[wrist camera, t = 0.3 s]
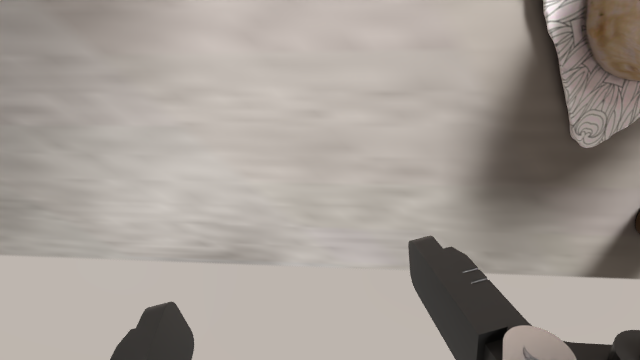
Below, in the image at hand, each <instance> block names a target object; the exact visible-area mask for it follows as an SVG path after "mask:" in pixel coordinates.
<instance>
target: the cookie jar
mask: <svg viewBox="0 0 640 360" xmlns="http://www.w3.org/2000/svg"><path fill="white" fill-rule="evenodd" d="M543 10H544V16H545V19H546V23H547V29H548V33H549V35H550V37H551V38H552V40H553V42H554V45H555V48H556V51H557V55H558V59H559V67H560V75H561V80H562V84H563V89H564V93H565V99H566V104H567V108H568V115H569V122H570V134H571V137H572V138H573V139H575V140H576V141H577V142H578V143H579V145H580V146H581V147H583V148H591V147H594V146H597V145H598V144H600V143H602V142H603V141H604V140H608V139H609V138H610V137H611V136H612V135H613V134H614V133H616V132H618V131H620V130H622V129H624V128H626V127H628V126H630V125H631V124H632V123H633V122H635V121H636V120H637V119H638V118H640V0H543Z"/></svg>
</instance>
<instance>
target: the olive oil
mask: <svg viewBox="0 0 640 360" xmlns="http://www.w3.org/2000/svg"><path fill="white" fill-rule="evenodd" d="M635 226H636V230H637V232H638V233H639V234H640V212H639V213H638V215H637V218H636V222H635Z"/></svg>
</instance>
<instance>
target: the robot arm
mask: <svg viewBox="0 0 640 360" xmlns="http://www.w3.org/2000/svg"><path fill="white" fill-rule="evenodd" d="M409 261H410V274H411V279H412V283H413V286H414V288H415V290H416V292H417V294H418V296H419V297H420V299H421V301H422V303H423V304H424V306H425V308H426V309H427V311H428V313H429V315H430V316H431V318H432V320H433V321H434V323H435V325H436V327H437V328H438V330H439V332H440V334H441V335H442V337H443V339H444V340H445V342H446V344H447V346H448V347H449V349H450V351H451V352H452V354H453V356H454V358H455V359H456V360H640V330H628V331H624V332H621V333H620V334H618V335H617V336H616V338H615V340H614V342H613V345H604V344H585V343H571V342H565V341H562V340H561V339H559V338H558V337H557V336H555V335H554V334H552V333H550V332H548V331H546V330H544V329H541V328H538V327H534V326H532V325H530V324H529V323H528V322H527V321H526V320H525V319H524V318H523V317H522V315H520V313H519V312H518V311H517V310H516V309H515V308H514V307H513V306H512V305H511V303H510V302H509V301H508V300H507V299H506V298H505V297H504V296H503V295H502V294H501V292H500V291H499V290H498V289H497V288H496V287H495V286H494V285H493V284H492V283H491V282H490V280H487V277H486V276H485V275H484V274H483V273H482V272H481V271H480V270H478V267H477V266H476V265H475V264H474V263H473V262H472V261H471V260H470V258H469V257H468V256H467V255H465V254H463V253H462V252H460V251H458V250H456V249H455V248H453V247H448V248H445V249H443V248H442V247H441V246H440V244H439V243H438V242H437V241H436V240H435V238H434V237H432V236H427V237H423V238H419V239H415V240H412V241H409ZM193 349H194V338H193V334H192V331H191V329H190V327H189V326H188V324H187V322H186V321H185V319H184V317H183V316H182V314H181V313H180V310H179V309H178V307H177V305H176V304H175V303H174V302H168V303H164V304H160V305H156V306H153V307H149V308H147V309H145V311H144V313H143V314H142V316H141V319H140V321H139V323H138V325H137V327H136V328H135V329H131V330H130V331H129V332H128V334H127V335H126V336H125V337H124V338H123V340H122V341H121V342H120V343H119V344H118V346H117V347H116V349H115V351H114V353H113V355H112V357H111V359H110V360H191V359H192V355H193Z"/></svg>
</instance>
